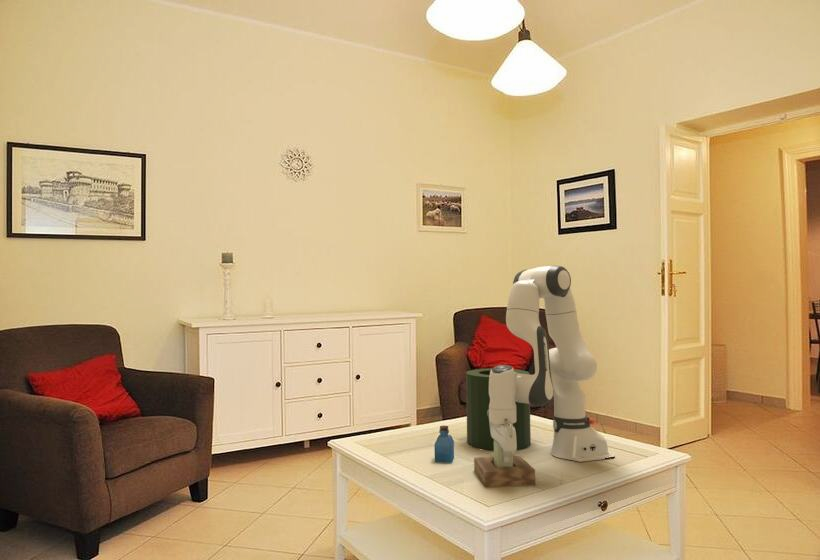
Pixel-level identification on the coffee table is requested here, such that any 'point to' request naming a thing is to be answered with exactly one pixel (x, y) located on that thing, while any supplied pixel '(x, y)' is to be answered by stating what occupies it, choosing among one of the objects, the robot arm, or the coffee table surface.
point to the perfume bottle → (444, 446)
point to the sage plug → (501, 456)
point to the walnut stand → (504, 472)
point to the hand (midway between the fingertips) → (503, 458)
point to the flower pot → (479, 418)
